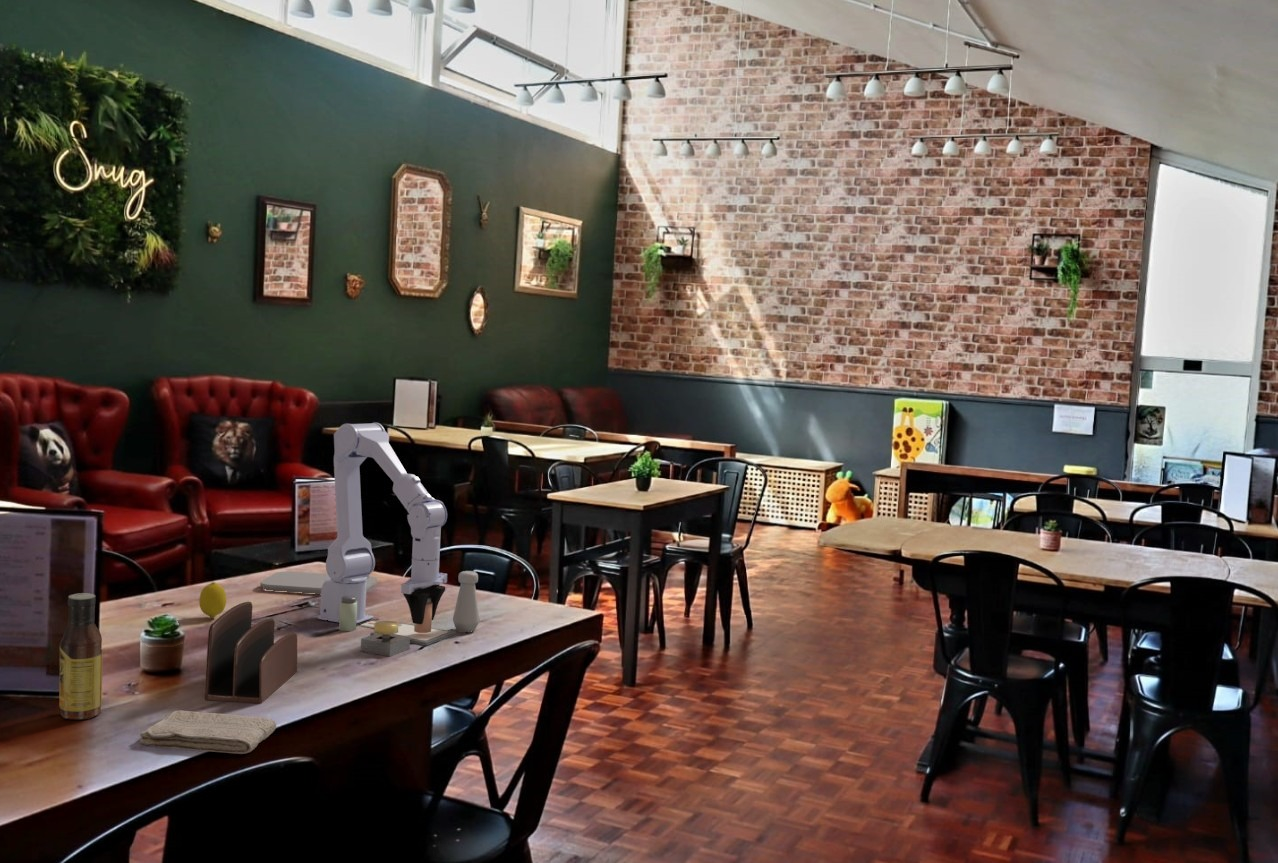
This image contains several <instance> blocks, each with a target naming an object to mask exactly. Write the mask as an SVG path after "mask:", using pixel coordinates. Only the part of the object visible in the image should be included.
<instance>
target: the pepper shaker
mask: <svg viewBox="0 0 1278 863" xmlns="http://www.w3.org/2000/svg"><path fill="white" fill-rule="evenodd" d="M432 621H433V620H432V602H431V598H430V597H429V598H428V600H427V603H426V607H425V614H424V620H423V624H415V623H413V625H414V631H415V632H417V633H428V632H431V628H432V624H433V622H432Z"/></svg>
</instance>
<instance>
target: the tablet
mask: <svg viewBox="0 0 1278 863" xmlns="http://www.w3.org/2000/svg"><path fill="white" fill-rule="evenodd" d="M328 578H330V577H329V575H328V574H327V573H319V572H318V573H317V572H303V571H302V572H301V571H278V572H275V573H273V574H272V575H270V576H267V577H266V578H264V579H262V580H260V584H259V585H260V586H261V587H262V590H263V589H266V590H273V591H287V592H302V593H315V594H321V589H322V586H323V583H324V582H325V581H326V580H327V579H328ZM378 580H379V579H378V578H377V577H373V576H369V579H367V580H366V594H367V593H368V592H370V591H371V590H372V589H375V585H376V584H377V583H378Z"/></svg>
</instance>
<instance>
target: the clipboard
mask: <svg viewBox="0 0 1278 863" xmlns="http://www.w3.org/2000/svg"><path fill="white" fill-rule="evenodd" d="M397 623H398V633H395V634H397V635H403V636H409V637H410V644H416V645H421V646H429V645H432V644H434V643H436V642H439V641H441V640H444V638H445V639H447V638H449V636H450V637H452V636H455V635H456V632H455V631H452V630H446V629H441V628H435V627H431V632H428V633H417V632H415V631H414V624H413V623H412V624H411V623H404V622H397ZM374 634H376V633H375V632H374V631H372V632H370V636H371V635H374ZM454 634H455V635H454Z"/></svg>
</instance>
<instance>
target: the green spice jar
mask: <svg viewBox="0 0 1278 863" xmlns="http://www.w3.org/2000/svg"><path fill="white" fill-rule="evenodd" d="M356 622H357V601H356V597H354V596H343V597H342V601H340V617H339V622H338V625H339V626H338V630H339V631H341V632H345V631H350V632H354V630H355V631H356V630H357V623H356Z"/></svg>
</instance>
